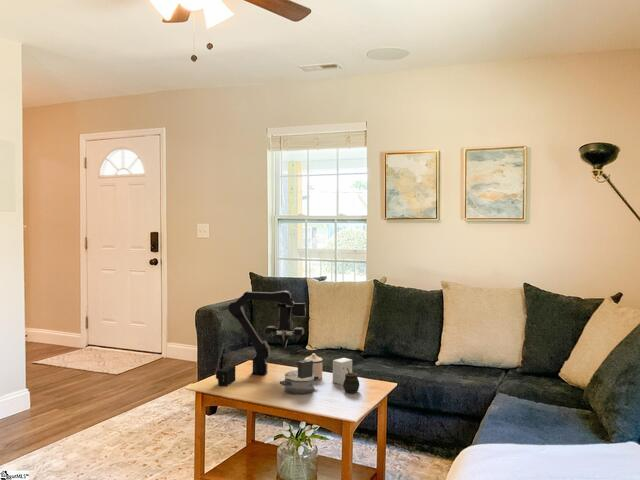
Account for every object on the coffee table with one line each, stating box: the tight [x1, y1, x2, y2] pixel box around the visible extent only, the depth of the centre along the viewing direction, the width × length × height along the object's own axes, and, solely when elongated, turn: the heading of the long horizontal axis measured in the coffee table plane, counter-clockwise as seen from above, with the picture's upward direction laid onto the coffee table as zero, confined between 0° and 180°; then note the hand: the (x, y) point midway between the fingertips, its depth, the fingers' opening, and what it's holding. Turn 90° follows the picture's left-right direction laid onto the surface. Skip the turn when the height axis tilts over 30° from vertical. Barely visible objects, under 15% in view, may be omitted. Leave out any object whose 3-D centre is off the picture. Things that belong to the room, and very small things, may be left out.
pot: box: [279, 375, 319, 396], centre depth 245 cm, size 13×19×6 cm
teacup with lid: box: [303, 353, 324, 381], centre depth 265 cm, size 12×9×12 cm
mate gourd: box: [342, 368, 360, 394], centre depth 244 cm, size 7×8×10 cm
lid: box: [284, 359, 314, 382], centre depth 245 cm, size 13×13×8 cm
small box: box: [332, 357, 353, 386], centre depth 258 cm, size 8×6×10 cm
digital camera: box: [215, 364, 236, 388], centre depth 254 cm, size 10×5×7 cm, turn 166°
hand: (284, 347), depth 270 cm, fingers closed
